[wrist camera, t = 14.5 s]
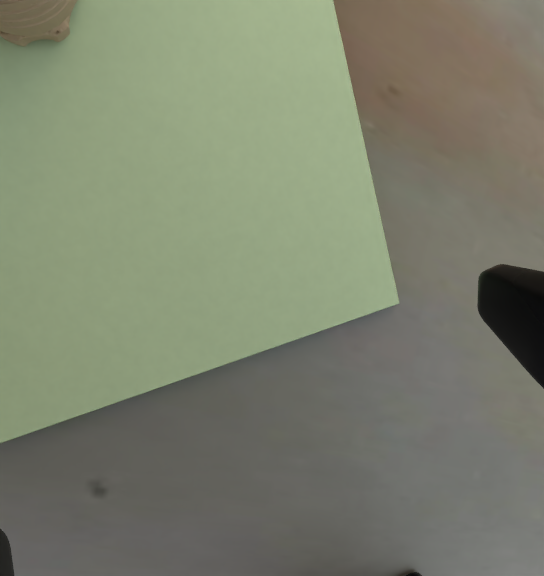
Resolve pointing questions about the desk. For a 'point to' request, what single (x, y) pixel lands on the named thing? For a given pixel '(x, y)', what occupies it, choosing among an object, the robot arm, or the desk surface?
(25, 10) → the handle
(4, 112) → the mat
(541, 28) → the desk surface
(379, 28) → the desk surface
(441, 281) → the desk surface
